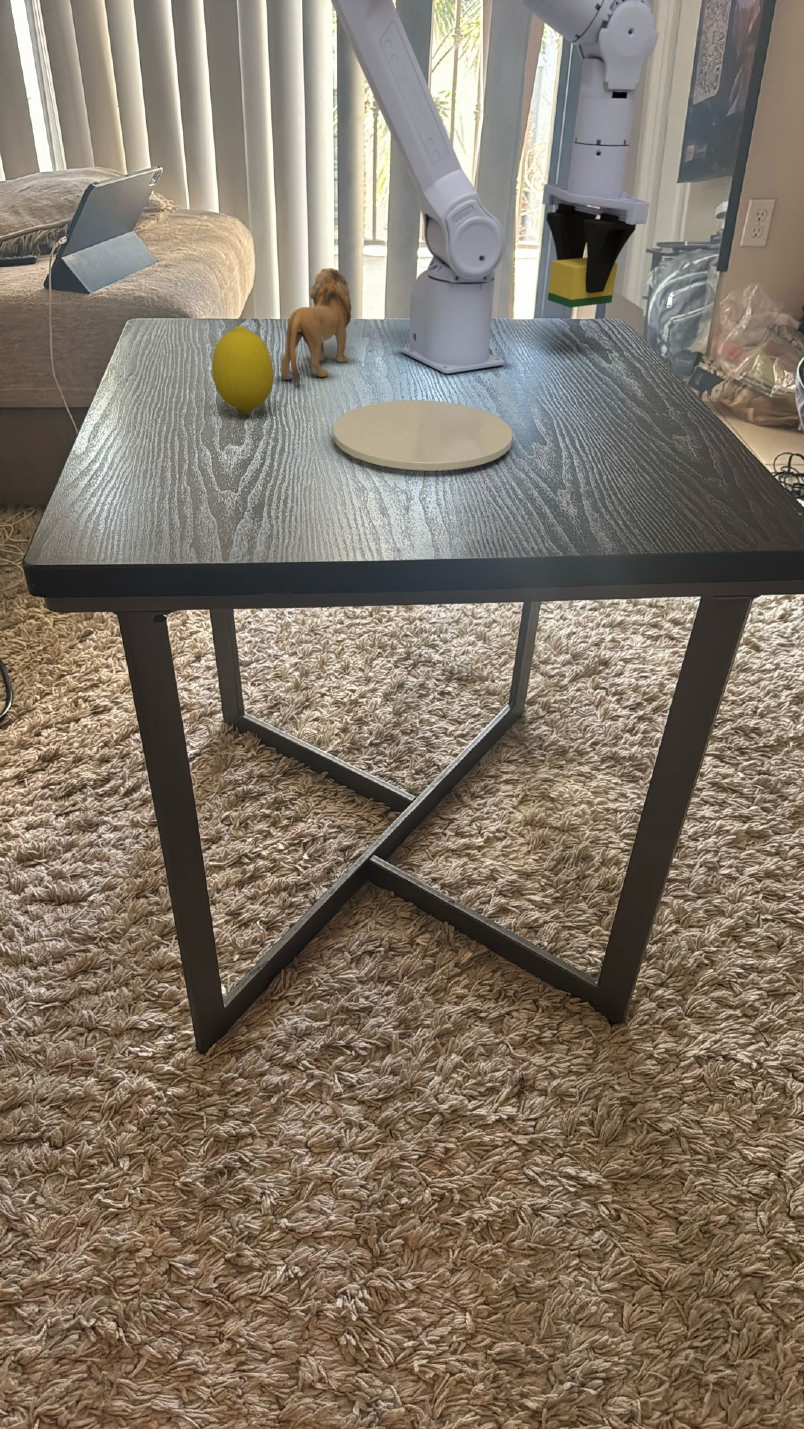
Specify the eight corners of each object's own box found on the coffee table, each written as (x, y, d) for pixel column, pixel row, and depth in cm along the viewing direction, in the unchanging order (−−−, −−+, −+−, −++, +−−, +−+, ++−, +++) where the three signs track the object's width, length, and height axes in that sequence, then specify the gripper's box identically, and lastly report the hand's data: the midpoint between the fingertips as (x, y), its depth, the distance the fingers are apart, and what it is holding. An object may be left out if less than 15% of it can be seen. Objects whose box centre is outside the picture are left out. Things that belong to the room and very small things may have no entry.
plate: (302, 429, 84) (301, 415, 83) (447, 404, 91) (448, 391, 90) (390, 491, 73) (390, 475, 72) (547, 457, 80) (549, 443, 79)
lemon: (234, 402, 89) (226, 315, 85) (285, 410, 88) (280, 322, 83) (206, 419, 85) (196, 329, 80) (259, 428, 84) (253, 336, 79)
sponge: (547, 299, 102) (551, 260, 100) (588, 295, 105) (593, 256, 102) (570, 307, 99) (575, 267, 97) (611, 302, 102) (617, 263, 99)
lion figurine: (313, 348, 105) (311, 263, 100) (358, 352, 105) (358, 266, 99) (273, 386, 94) (268, 291, 88) (323, 390, 93) (321, 296, 88)
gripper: (681, 150, 90) (654, 298, 98) (584, 136, 99) (567, 272, 108) (627, 151, 87) (604, 304, 95) (533, 137, 96) (519, 276, 105)
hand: (581, 287), depth 101 cm, fingers closed on sponge, 4 cm apart
